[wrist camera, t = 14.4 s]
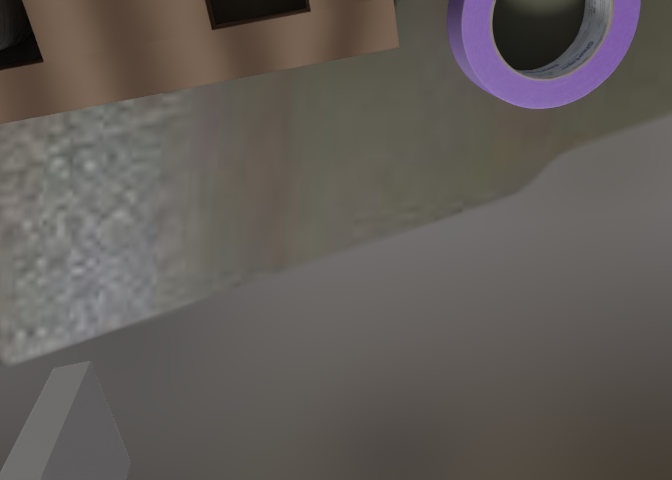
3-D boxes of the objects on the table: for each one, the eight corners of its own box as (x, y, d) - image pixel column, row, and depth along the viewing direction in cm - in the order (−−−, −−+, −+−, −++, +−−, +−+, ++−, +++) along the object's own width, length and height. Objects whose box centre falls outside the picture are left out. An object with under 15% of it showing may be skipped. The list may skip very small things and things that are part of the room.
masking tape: (410, 12, 43) (424, 16, 39) (546, -126, 40) (573, -135, 37) (514, 131, 47) (535, 145, 43) (642, 13, 44) (675, 17, 41)
